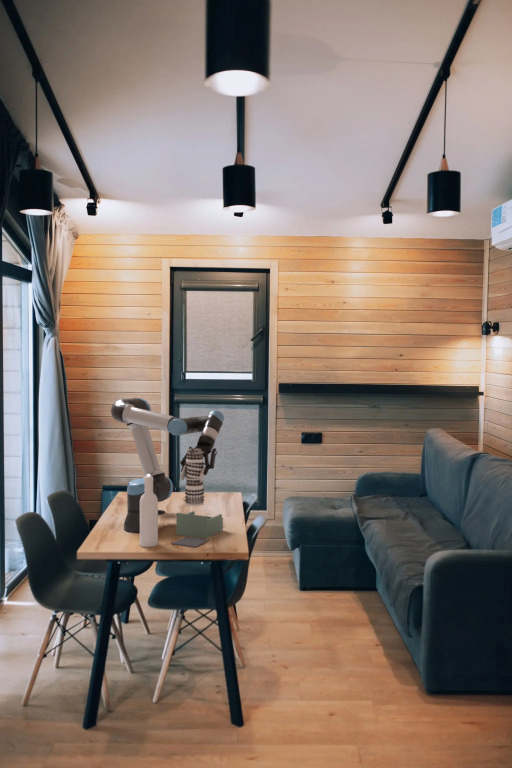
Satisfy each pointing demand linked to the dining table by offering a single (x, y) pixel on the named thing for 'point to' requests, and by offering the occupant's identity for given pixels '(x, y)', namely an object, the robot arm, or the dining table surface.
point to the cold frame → (198, 525)
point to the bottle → (148, 515)
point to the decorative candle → (194, 477)
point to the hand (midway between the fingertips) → (190, 479)
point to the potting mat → (190, 542)
